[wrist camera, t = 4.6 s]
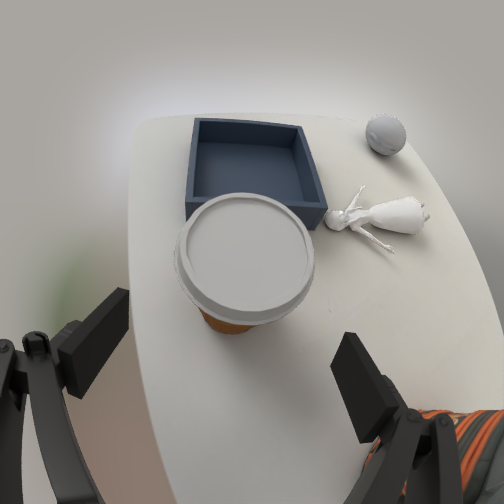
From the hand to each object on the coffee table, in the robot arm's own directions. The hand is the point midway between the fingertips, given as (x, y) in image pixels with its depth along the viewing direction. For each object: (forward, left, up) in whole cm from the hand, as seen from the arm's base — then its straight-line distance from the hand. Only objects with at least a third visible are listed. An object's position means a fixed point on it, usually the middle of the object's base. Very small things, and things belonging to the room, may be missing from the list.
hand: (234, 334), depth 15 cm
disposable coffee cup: (+1, +5, -11) cm, 12 cm away
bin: (+4, +22, -11) cm, 25 cm away
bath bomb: (+30, +34, -11) cm, 47 cm away
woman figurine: (+22, +16, -11) cm, 30 cm away
